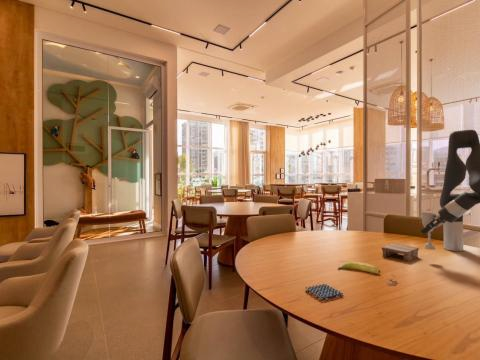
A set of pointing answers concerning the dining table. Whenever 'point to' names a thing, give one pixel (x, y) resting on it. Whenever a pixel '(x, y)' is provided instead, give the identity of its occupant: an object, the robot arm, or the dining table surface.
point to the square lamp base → (401, 251)
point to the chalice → (425, 221)
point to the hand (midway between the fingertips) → (425, 231)
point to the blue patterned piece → (324, 292)
